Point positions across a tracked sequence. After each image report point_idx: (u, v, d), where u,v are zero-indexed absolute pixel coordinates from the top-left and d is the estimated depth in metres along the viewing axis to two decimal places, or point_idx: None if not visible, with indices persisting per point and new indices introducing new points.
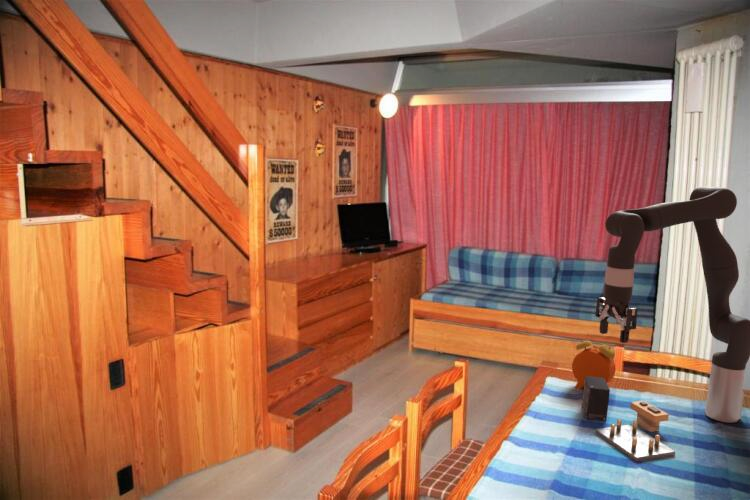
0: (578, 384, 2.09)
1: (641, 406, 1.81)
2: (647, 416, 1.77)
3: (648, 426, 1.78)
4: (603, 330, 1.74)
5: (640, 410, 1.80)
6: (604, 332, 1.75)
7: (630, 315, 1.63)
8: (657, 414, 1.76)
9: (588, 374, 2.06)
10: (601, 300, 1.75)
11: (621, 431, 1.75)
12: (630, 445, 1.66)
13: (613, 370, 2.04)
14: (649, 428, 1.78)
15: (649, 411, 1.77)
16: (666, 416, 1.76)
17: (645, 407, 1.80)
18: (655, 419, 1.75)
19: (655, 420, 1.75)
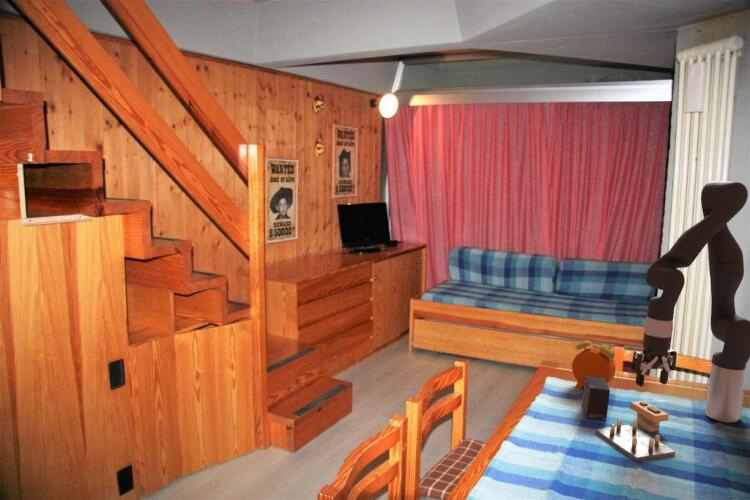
0: (578, 384, 2.09)
1: (641, 406, 1.81)
2: (647, 416, 1.77)
3: (648, 426, 1.78)
4: None
5: (640, 410, 1.80)
6: None
7: None
8: (657, 414, 1.76)
9: (588, 374, 2.06)
10: None
11: (621, 431, 1.75)
12: (630, 445, 1.66)
13: (613, 370, 2.04)
14: (649, 428, 1.78)
15: (649, 411, 1.77)
16: (666, 416, 1.76)
17: (645, 407, 1.80)
18: (655, 419, 1.75)
19: (655, 420, 1.75)
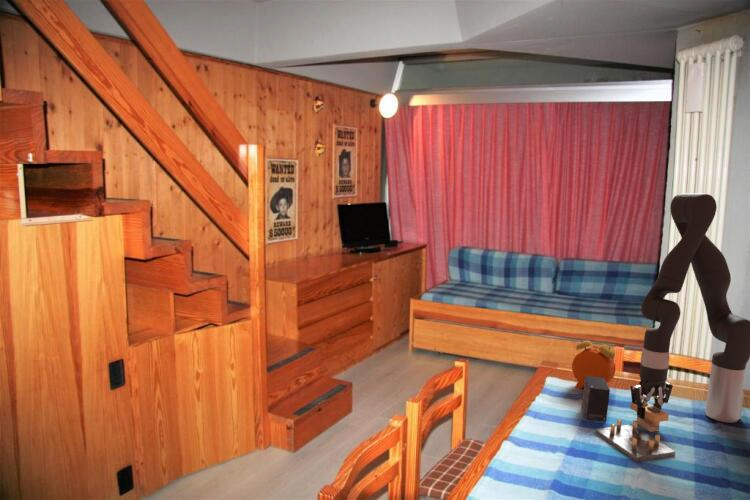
0: (578, 384, 2.09)
1: None
2: (647, 416, 1.77)
3: (648, 426, 1.78)
4: None
5: None
6: None
7: None
8: (657, 414, 1.76)
9: (588, 374, 2.06)
10: None
11: (621, 431, 1.75)
12: (630, 445, 1.66)
13: (613, 370, 2.04)
14: (649, 428, 1.78)
15: (649, 411, 1.77)
16: (666, 416, 1.76)
17: (645, 407, 1.80)
18: (655, 419, 1.75)
19: (655, 420, 1.75)
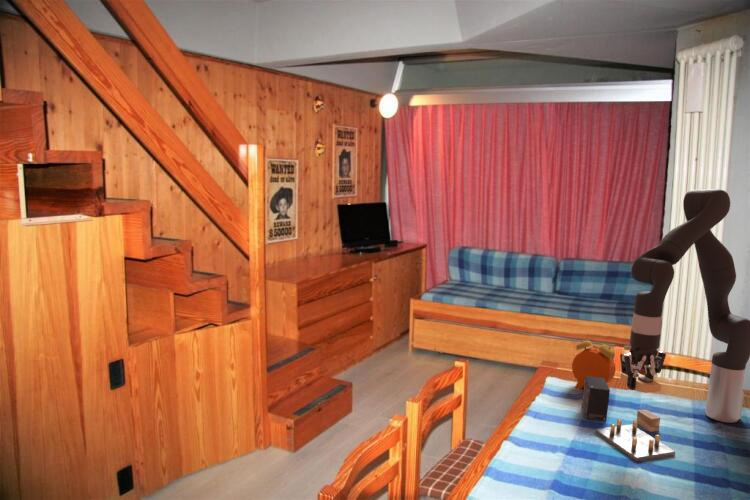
0: (578, 384, 2.09)
1: None
2: (638, 386, 1.64)
3: (648, 426, 1.78)
4: None
5: None
6: None
7: None
8: (648, 384, 1.62)
9: (588, 374, 2.06)
10: None
11: (621, 431, 1.75)
12: (630, 445, 1.66)
13: (613, 370, 2.04)
14: (649, 428, 1.78)
15: (640, 381, 1.64)
16: (658, 386, 1.63)
17: (636, 377, 1.67)
18: (646, 390, 1.61)
19: (646, 390, 1.62)
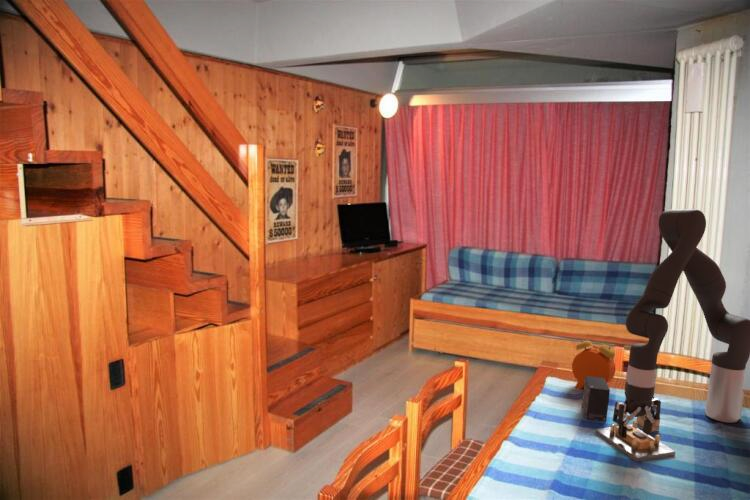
0: (578, 384, 2.09)
1: None
2: None
3: None
4: None
5: None
6: None
7: None
8: (642, 440, 1.65)
9: (588, 374, 2.06)
10: None
11: None
12: (630, 445, 1.66)
13: (613, 370, 2.04)
14: None
15: (634, 437, 1.67)
16: None
17: (630, 432, 1.70)
18: (640, 446, 1.64)
19: (640, 447, 1.64)
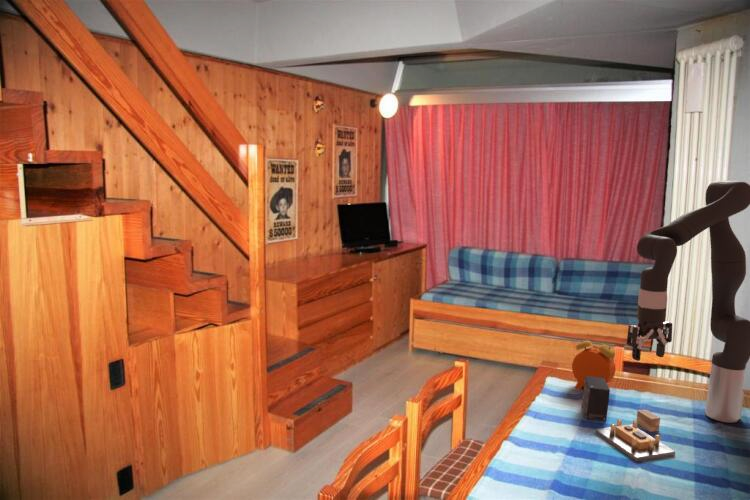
0: (578, 384, 2.09)
1: (626, 431, 1.70)
2: None
3: (648, 426, 1.78)
4: None
5: (625, 435, 1.69)
6: None
7: None
8: (642, 440, 1.65)
9: (588, 374, 2.06)
10: None
11: None
12: (630, 445, 1.66)
13: (613, 370, 2.04)
14: (649, 428, 1.78)
15: (634, 437, 1.67)
16: None
17: (630, 432, 1.70)
18: (640, 446, 1.64)
19: (640, 447, 1.64)
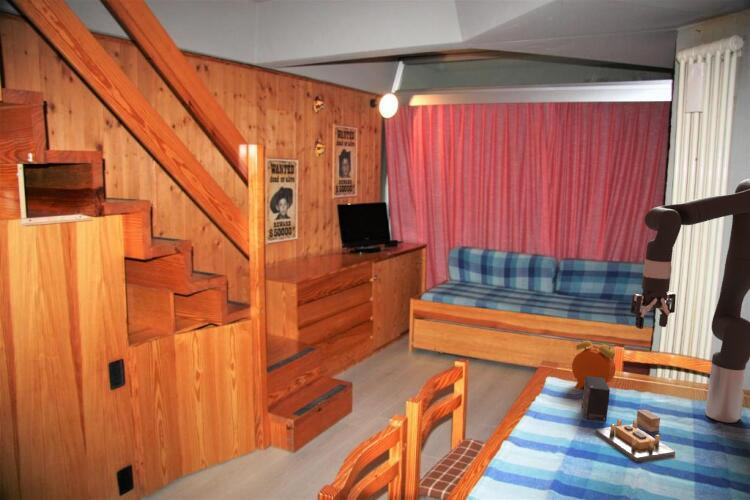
0: (578, 384, 2.09)
1: (626, 431, 1.70)
2: None
3: (648, 426, 1.78)
4: None
5: (625, 435, 1.69)
6: None
7: None
8: (642, 440, 1.65)
9: (588, 374, 2.06)
10: None
11: None
12: (630, 445, 1.66)
13: (613, 370, 2.04)
14: (649, 428, 1.78)
15: (634, 437, 1.67)
16: None
17: (630, 432, 1.70)
18: (640, 446, 1.64)
19: (640, 447, 1.64)
